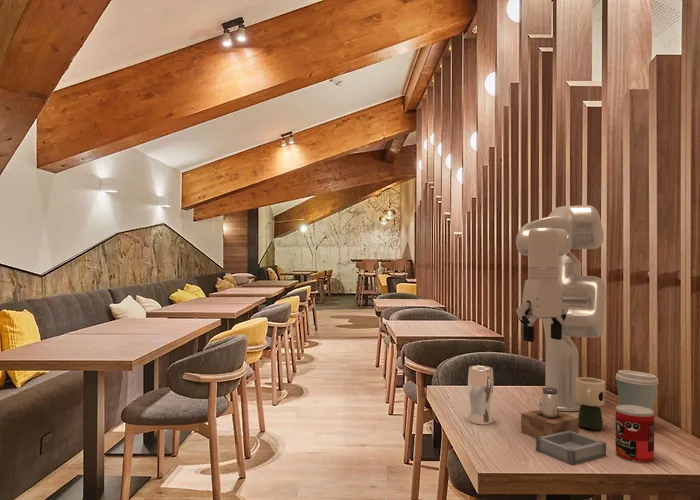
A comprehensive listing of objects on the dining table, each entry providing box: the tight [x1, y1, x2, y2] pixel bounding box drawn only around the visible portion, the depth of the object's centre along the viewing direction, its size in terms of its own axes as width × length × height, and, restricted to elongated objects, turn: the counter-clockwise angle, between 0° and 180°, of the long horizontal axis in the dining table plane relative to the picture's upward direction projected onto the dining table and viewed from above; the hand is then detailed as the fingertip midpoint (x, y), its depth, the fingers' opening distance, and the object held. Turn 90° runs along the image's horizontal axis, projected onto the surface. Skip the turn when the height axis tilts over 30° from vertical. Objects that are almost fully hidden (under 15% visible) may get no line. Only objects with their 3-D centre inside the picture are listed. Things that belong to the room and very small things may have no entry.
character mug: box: [576, 376, 606, 430], centre depth 143 cm, size 11×7×13 cm, turn 150°
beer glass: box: [467, 365, 494, 426], centre depth 147 cm, size 7×7×15 cm
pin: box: [541, 387, 558, 420], centre depth 136 cm, size 4×4×12 cm
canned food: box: [615, 404, 655, 463], centre depth 122 cm, size 8×8×11 cm
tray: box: [535, 430, 607, 466], centre depth 124 cm, size 12×10×3 cm
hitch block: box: [520, 409, 580, 439], centre depth 136 cm, size 10×10×5 cm
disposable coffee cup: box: [615, 369, 659, 410], centre depth 145 cm, size 11×11×15 cm
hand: (542, 340), depth 137 cm, fingers open, 9 cm apart
